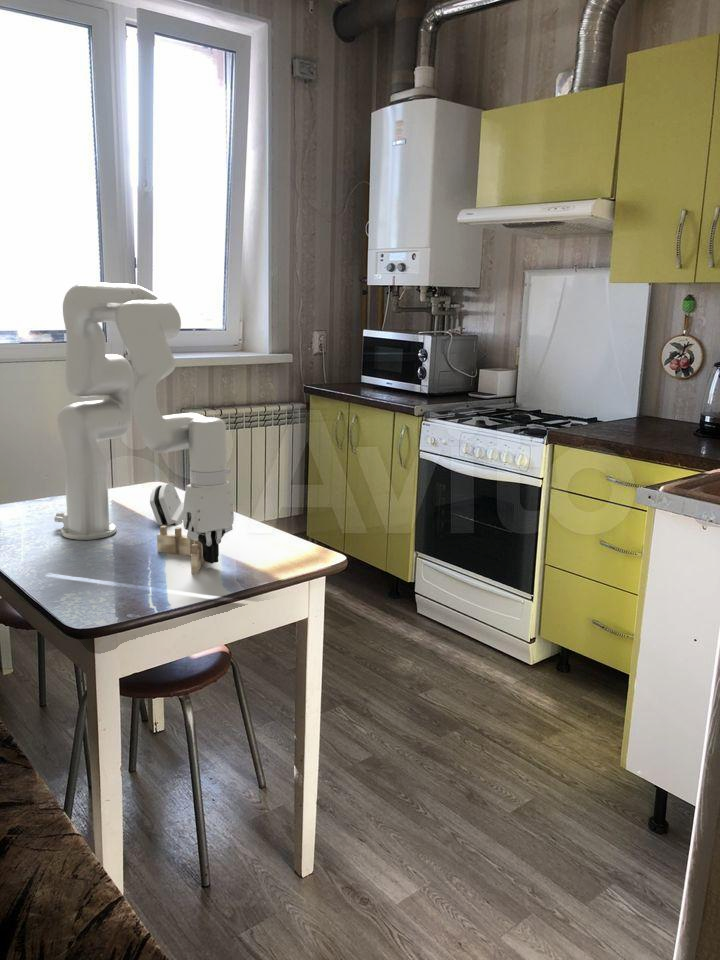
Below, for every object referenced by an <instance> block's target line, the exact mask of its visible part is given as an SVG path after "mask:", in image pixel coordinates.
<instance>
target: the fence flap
mask: <svg viewBox="0 0 720 960" xmlns="http://www.w3.org/2000/svg"><path fill="white" fill-rule="evenodd" d="M204 562H205V561H204V558H203V545H202V543H200V541H199V540H195V544H192V554H191V556H190V569H191V570H190V573H191V574H198V573H199V571H200V569H201V568H202V565H203V564H204Z"/></svg>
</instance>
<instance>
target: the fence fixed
mask: <svg viewBox="0 0 720 960" xmlns="http://www.w3.org/2000/svg"><path fill="white" fill-rule="evenodd" d="M182 529H183V528H182V527H175V528H174V534H171V533H168V525H160V527H159V532H158V533H157V534H156V541H157V542H156V545H157V552H158V553H159V552H160V553H165V554H166V553H169V554H175V555H183V556H190V557H191V554H192V544H195V540H192V539H189V538H187V535H183V534H182Z"/></svg>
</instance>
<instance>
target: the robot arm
mask: <svg viewBox="0 0 720 960" xmlns="http://www.w3.org/2000/svg"><path fill="white" fill-rule="evenodd" d="M62 302H63V303H62V316H63V321H64V322H63V323H64V327H65V334H66V335H65V336H66V345H65V384H66V388H67V391H68V392H69V393H70V394H71V395H72V396H74V397H77V398H92V397H93V398H94V397H103V399H97V400H87V401H85V400H84V401H77V402H72V403H71V404H67V405H65V406H64V407H62V408H61V410H60V411H59V412H58V414H57V419H56V422H57V424H56V425H57V429H58V432H59V437H60V442H61V447H62V452H63V453H62V455H63V463H64V465H63V466H64V480H65V483H64V484H65V497H66V498H65V500H66V503H65V504H66V512H61V511H57V512H56V513H55V514H56V515H55V517H54V522H55V523H62V524H63V526H62V528H61V529H60V534H61V536H62V537H64V538H66V539H70V540H78V541H79V540H80V541H81V540H82V541H87V540H97V539H103V538H106V537H110V536H112V535H114V534H115V533H116V531H117V526H116V524H115V523H112V522H110V513H109V512H110V511H109V509H110V508H109V488H108V487H109V484H108V463H107V458H106V455H105V453H104V452H103V450H102V449H101V447H100V446H99V444H98V442H100V441H105V440H106V441H107V440H111V439H112V440H113V439H117V438H121V437H124V436H125V435H127V434H128V432H129V431H130V430H131V427H132V424H133V423H132V422H133V420H134V422H135V426H136V427H137V430H138V432H139V434H140V437H141V439H142V441H143V442H144V444H145V445H146V447H147V448H148V449H149V450H150V451H153V452H154V453H156V454H165V453H171V452H176V451H181V450H189V453H188V454H189V479H190V480H189V481H190V482H189V483H190V484H187V485H186V487H185V493H184V497H183V498H184V499H183V503H184V512H183V521H182V524H183V529H184V530H187V534H186V536H187V538H189V539H192V540H199V541H200V543H202V545H203V558H204V562H206V563H208V564H211V565H212V564H215V563H219V555H220V554H219V553H220V551H219V549H220V548H219V545H220V544H221V542H222V539H223V537H224V535H225V534H227V533H229V532H231V531H232V530H233V524H234V520H235V519H234V518H235V517H234V516H235V510H234V501H233V500H234V499H233V495H232V494H233V492H232V488H231V484H230V481H228V476H230V475H231V474H232V472H231V469H230V468H228V467H227V466H228V464H227V463H228V461H227V427H226V422H225V421H224V420H223V419H222V418H219V417H213V416H212V417H211V416H205V415H202V414H200V413H195V412H184V413H183V412H182V413H173V414H167V415H162V413H161V412H160V409H159V407H158V404H157V400H156V389H157V388H156V387H157V385H158V383H159V382H160V381H161V380H163V379H165V378H166V377H169V376H170V375H171V374H172V373H173V371H174V370H175V368H176V365H177V363H176V360H175V357H174V355H173V353H172V351H171V348H170V346H169V343H168V341H167V340H171V339H173V338H175V337H176V336H177V335H178V334H179V333H180V331H181V327H182V319H181V317H180V313H179V311H178V309H177V308H176V306H175V305H174V304H173V303H172V302H170V301H169V300H168V299H166V298H164V297H162V296H160V295H158V294H156V293H154V292H152V291H151V290H148V289H147V288H144V287H142V286H140V285H137V284H131V283H111V282H85V283H84V282H83V283H79V284H75V285H74V286H72V287H70V288H69V289H68V291H67V292H66V293H65V295H64V297H63V301H62ZM100 323H115V324H116V326H117V329H118V331H119V334H120V336H121V339H122V341H123V345H124V346H125V349H126V351H127V354H128V357H129V359H130V361H131V364H132V366H131V364H130V362H129V361H128V360H127V359H128V358H125V357H124V356H123V355H120V354H116V353H115V354H114V353H110V354H107V351H106V349H107V348H106V347H107V338H106V334H105V333H104V330H103V328H102V327H101V325H100ZM133 369H134V370H133ZM134 371H135V374H136V382H135V374H134Z"/></svg>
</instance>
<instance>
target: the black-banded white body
mask: <svg viewBox="0 0 720 960" xmlns="http://www.w3.org/2000/svg"><path fill="white" fill-rule="evenodd" d="M149 506H150V508H151V510H152V513H153V515H154V518H155V522H156V523H157V524H156V525H158V526H159V525H160V526H170V525H173V524H175V525H176V526H179V525H182V524H183V521H182V520H183V512H184V502H182V501H181V499H180V496H179V495H178V492H177V490H176V487H175V485H174V484H173V483H171V482H168V483H164V484H162V485H157V486H156V487H154V488H153V489H152V491H151V493H150V497H149Z"/></svg>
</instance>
